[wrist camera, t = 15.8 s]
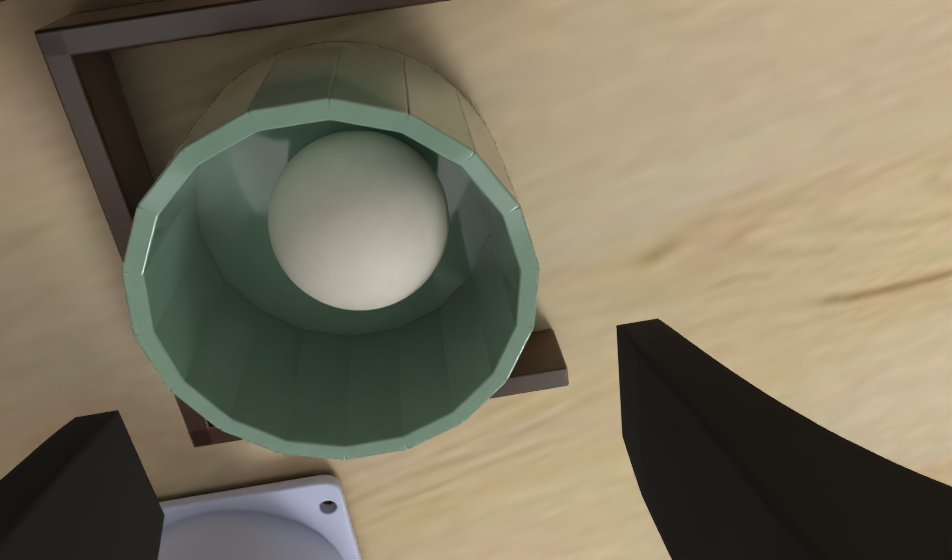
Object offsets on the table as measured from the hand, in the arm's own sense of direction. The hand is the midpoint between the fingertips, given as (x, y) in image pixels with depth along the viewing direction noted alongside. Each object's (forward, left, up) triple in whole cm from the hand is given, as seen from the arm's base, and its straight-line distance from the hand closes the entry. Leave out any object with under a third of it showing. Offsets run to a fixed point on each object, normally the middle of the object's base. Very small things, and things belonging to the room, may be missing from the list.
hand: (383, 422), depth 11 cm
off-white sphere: (0, 0, -7) cm, 7 cm away
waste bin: (0, +1, -10) cm, 10 cm away
